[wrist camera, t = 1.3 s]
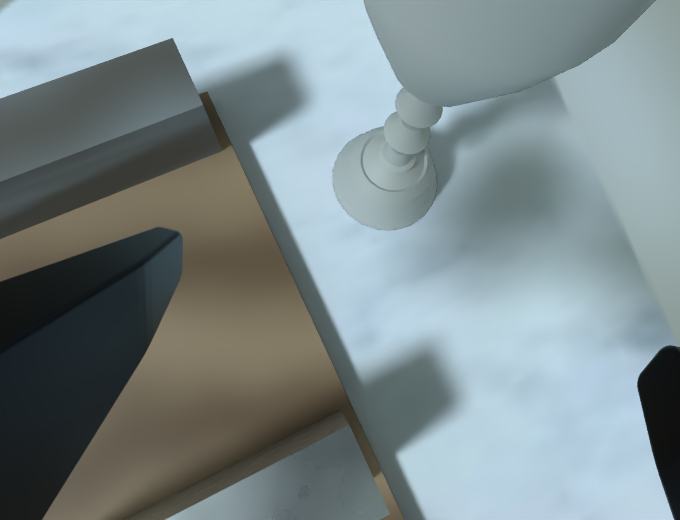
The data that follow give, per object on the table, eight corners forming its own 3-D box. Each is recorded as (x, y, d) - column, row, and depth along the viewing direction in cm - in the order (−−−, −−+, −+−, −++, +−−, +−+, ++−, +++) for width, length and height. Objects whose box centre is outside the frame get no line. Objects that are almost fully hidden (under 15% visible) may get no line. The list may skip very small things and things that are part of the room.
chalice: (487, 185, 22) (1147, -419, 5) (391, 282, 21) (815, -63, 4) (379, 84, 23) (618, -775, 5) (280, 172, 22) (175, -581, 4)
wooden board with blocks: (486, 699, 18) (549, 821, 13) (170, 903, 16) (115, 1127, 12) (210, 100, 22) (184, 33, 18) (-69, 206, 20) (-181, 162, 16)
